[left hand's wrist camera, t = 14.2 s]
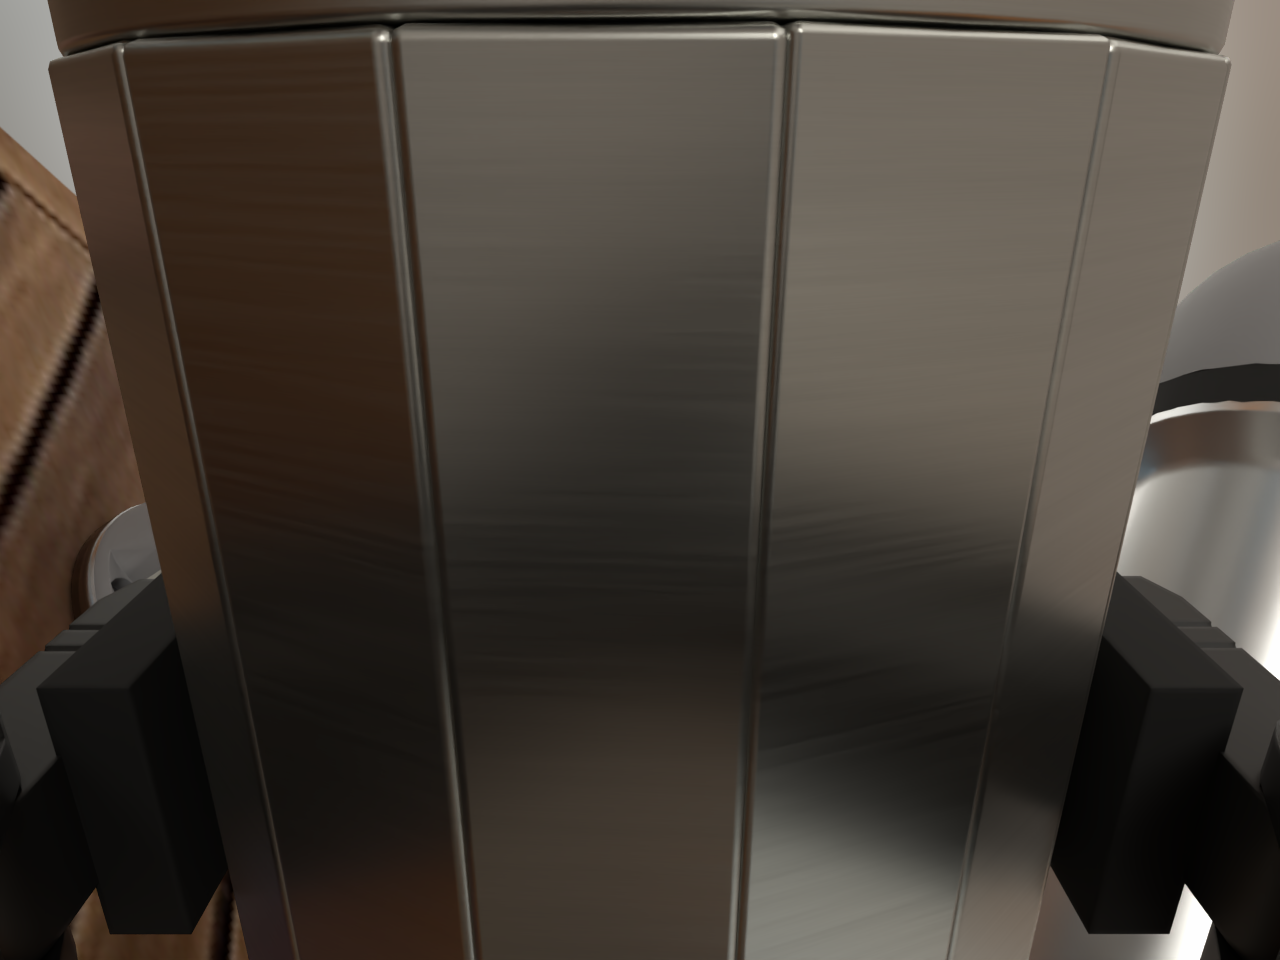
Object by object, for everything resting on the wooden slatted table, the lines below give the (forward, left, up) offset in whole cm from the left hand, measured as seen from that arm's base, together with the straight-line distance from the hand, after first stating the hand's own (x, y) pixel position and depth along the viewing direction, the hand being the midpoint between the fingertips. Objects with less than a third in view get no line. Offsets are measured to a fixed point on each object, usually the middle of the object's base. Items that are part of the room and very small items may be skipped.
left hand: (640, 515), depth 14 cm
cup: (+2, -7, +4) cm, 8 cm away
